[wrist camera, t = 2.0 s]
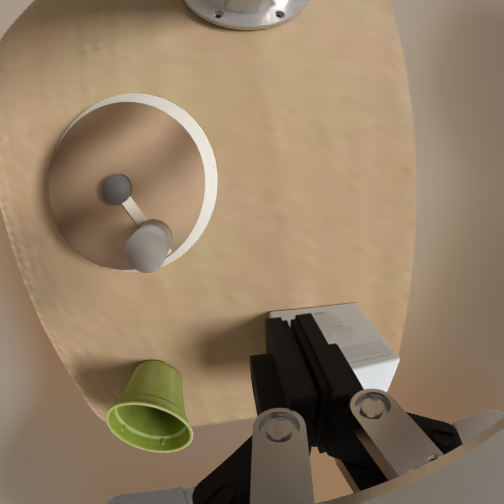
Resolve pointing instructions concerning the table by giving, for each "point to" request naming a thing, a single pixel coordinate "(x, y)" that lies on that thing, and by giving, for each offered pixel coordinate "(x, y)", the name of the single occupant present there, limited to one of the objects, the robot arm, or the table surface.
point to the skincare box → (353, 341)
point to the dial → (126, 186)
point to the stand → (202, 146)
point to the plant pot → (152, 410)
